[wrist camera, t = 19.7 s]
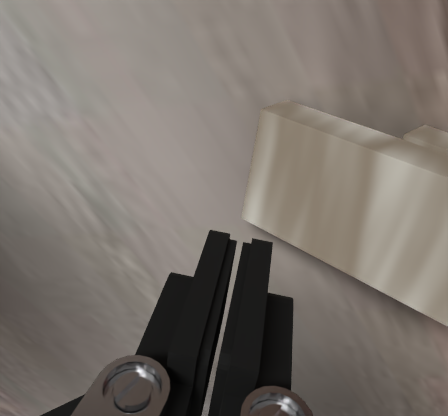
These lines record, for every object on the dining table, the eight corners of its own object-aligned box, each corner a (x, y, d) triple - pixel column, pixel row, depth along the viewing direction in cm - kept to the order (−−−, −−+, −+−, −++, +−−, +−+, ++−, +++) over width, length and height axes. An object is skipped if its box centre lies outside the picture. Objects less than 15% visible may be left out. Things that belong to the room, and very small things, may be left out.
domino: (241, 218, 18) (483, 345, 14) (261, 109, 16) (570, 222, 11) (265, 202, 20) (492, 313, 15) (287, 99, 17) (571, 197, 13)
